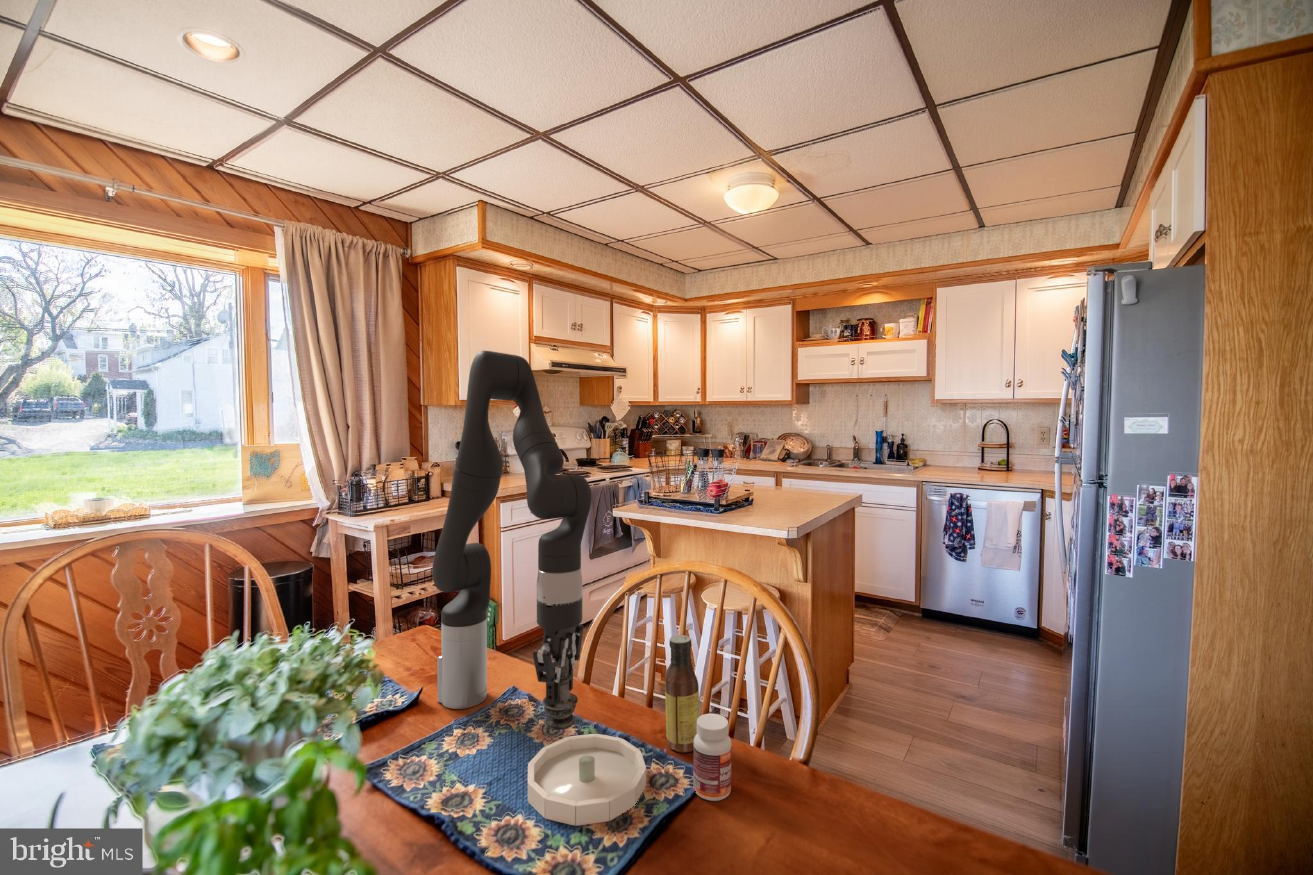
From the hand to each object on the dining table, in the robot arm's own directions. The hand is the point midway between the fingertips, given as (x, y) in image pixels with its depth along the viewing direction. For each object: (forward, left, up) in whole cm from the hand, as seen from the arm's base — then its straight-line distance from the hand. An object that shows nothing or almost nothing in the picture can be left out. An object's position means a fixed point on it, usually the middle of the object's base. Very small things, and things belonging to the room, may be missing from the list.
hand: (559, 696), depth 95 cm
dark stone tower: (0, 0, -5) cm, 5 cm away
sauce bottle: (+17, +16, -14) cm, 27 cm away
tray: (+5, 0, -14) cm, 15 cm away
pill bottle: (+25, +5, -14) cm, 29 cm away
